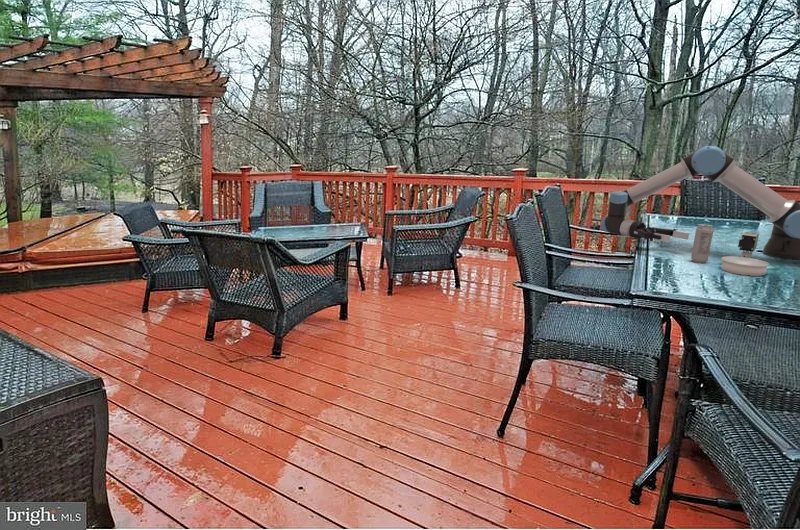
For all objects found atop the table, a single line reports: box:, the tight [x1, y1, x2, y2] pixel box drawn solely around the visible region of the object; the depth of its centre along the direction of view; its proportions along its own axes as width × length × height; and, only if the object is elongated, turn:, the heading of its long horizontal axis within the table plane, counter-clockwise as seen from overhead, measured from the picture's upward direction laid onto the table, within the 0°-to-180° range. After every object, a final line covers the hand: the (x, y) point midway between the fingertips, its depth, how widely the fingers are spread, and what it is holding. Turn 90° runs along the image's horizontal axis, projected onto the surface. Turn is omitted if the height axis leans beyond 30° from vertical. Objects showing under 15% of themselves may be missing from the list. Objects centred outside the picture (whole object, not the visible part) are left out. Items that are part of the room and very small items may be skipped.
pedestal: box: [720, 255, 770, 277], centre depth 190 cm, size 15×15×4 cm
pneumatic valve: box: [737, 231, 760, 258], centre depth 207 cm, size 6×12×12 cm, turn 139°
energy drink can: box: [690, 223, 714, 264], centre depth 202 cm, size 6×6×15 cm
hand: (679, 237), depth 210 cm, fingers open, 13 cm apart
